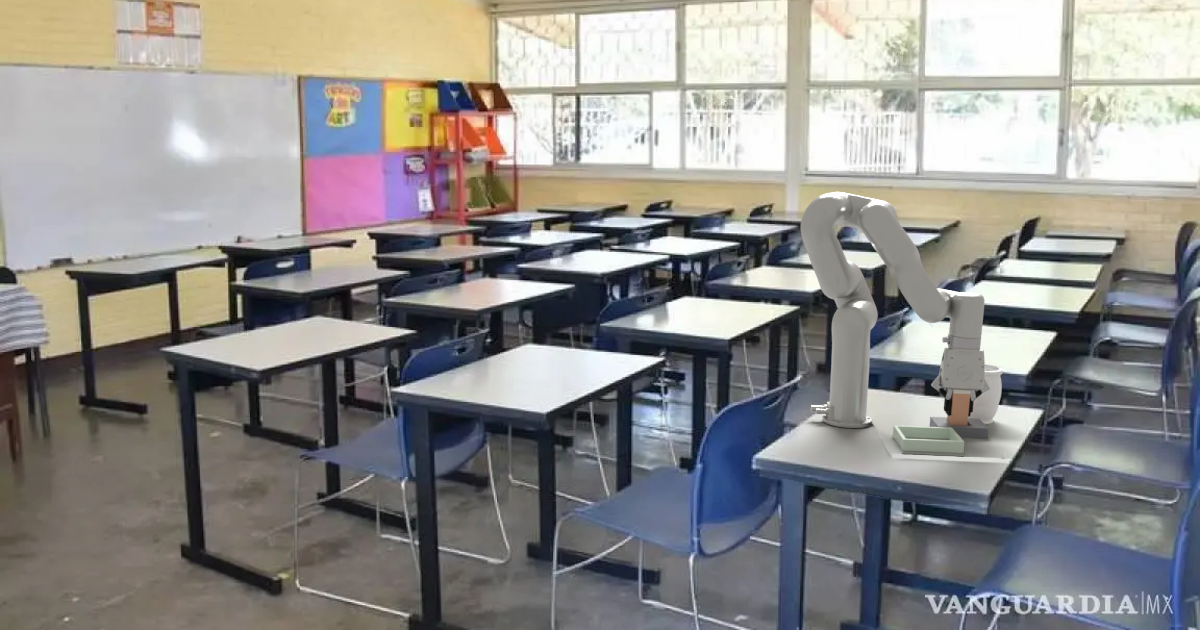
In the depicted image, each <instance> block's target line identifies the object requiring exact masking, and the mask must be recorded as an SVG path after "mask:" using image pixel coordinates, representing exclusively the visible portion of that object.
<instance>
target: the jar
mask: <svg viewBox="0 0 1200 630" xmlns="http://www.w3.org/2000/svg"><path fill="white" fill-rule="evenodd" d="M1003 373H1004V369H1003V368H1002V367H999V366H997V365H991V364H985V380H986V382H987V384H988V386H989V387H990V389H989V390H988V391H986V392H984V393H982V394H981V395H980V396H979V397H977V398H976V400H975V401H974V404H973V412H972V413H971V415H970V417H968V418H975V419H980V420H981V421H982V422H983V423H984V424H985V425H988V424H992V423H994V422H995V421H994V417H995V416H996V414H997V412H998V410H999V403H1000V401H1001V398H1002V389H1003V388H1002V387H1003V385H1002V378H1001V375H1003Z"/></svg>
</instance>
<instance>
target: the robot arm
mask: <svg viewBox="0 0 1200 630" xmlns="http://www.w3.org/2000/svg"><path fill="white" fill-rule="evenodd" d="M897 217H898V216H897V211H896V209H895V207H894V206H893V205H892V204H891V203H890V202H887V200H883V199H876V198H872V197H871V198H870V197H866V196H861V195H858V194H852V193H847V192H841V191H831V192H826V193H823V194H821V195H818V196H817V197H816V198H814V199H813V200H812V201H811V202H810V203H809V204H808V206H807V207H806V208H805V210H804V213H803V214H802V217H801V220H800V236H801V239H802V242H803V245H804V247H805V251H806V253H807V256H808V258H809V261H810V264H811V267H812V269H813V271H814V274H815V276H816V279H817V282H818V285H819V288H820V290H821V292H822V293H823V294H824V296H826V297H827V298H829V299H831V300H834V302H835V304H836V305H835V306H836V308H837V309H836V311H835V312H834V313H833V316H832V321H831V343H832V344H831V365H830V367H831V368H830V383H829V384H830V386H829V387H830V388H829V400H828V401H826V404H822V405H817V404H810V412H811V413H814V414H815V413H816V415H821V416H822V419H821V420H822V422H824V423H825V424H827V425H830V426H834V427H839V428H846V429H861V428H862V429H863V428H866V427H870V426H871V425H872V424H873V419H872V417H870V416H869V415H867V412H868V411H867V408H868V407H867V406H868V396H869V395H868V394H869V392H868V391H869V376H870V361H871V360H870V358H871V330H872V329H873V328H875V325H876V323H877V321H878V316H879V315H878V309H877V306H876V304H875V301H874V299H873V296H872V293H871V290H870V288H869V286H868V283H867V281H866V279H865V277H864V274H863V273H862V270H861V269H860V268H859V266H858V265H857V264H856V263H855V262H854V261H851V260H849V259H847V257H846V255H845V253H844V251H843V250H844V249H843V247H842V245H841V243H840V241H839V239H838V237H837V235H836V232H835V228H836V226H837V225H840V226H843V227H849V228H853V229H857V230H861V232H862V233H863V234H864V236H865V237H866V239H867V240H868V242H869V243H870V244H871V246H872V247H873V249H874V250H875V251H876V252H877V254H878V255H879V258H881V260H882V261H883V263H884V264H885V266H886V268H887V270H888V272H889V274H890V276H891V277H892V278H893V281H894V282H895V284H896V285H897V287H898V289H899V290H900V293H901V294H902V295H903V297H904V299H905V300H906V302H907V303H908V304H909V305H910V307H911V309H913V312H915V314H916V315H917V317H919V319H921V320H922V321H923V322H926V323H929V324H935V323H939V322H942V320H944V319H945V318H949V329H948V330H949V331H948V333H947V334H948V335H947V336H943V337H942V343H945V344H947V345H946V346H945V347H944V350H943V352H942V356H941V362H940V366H939V367H940V368H939V373H938V375H937V377H936V378H934V380H933V381H932V383H931V384H930V385H931V386H930V387H932V388H934V389H935V390H936V391H937V392H938V393H940V394H941V395H942V397H944V399H943V400H944V401H943V411H944V412H945V414H946V415H948V416H950V415H951V410H952V400H951V395H952V392H953V389H965V390H971V392H970V402H969V413H968V417H970V415H971V413H972V412H973V404H974V401H975V400H976V398H977V397H979V396H980V395H981V394H982V393H984V392H986V391H988V390H989V389H990V387H989V386H988V384H987V382H986V380H985V363H986V361H985V351H984V349H982V347H981V345H982V335H983V334H982V332H983V323H984V321H983V320H984V312H985V298H984V296H983V294H980V293H979V292H978V293H977V292H970V291H960V292H959V291H955V290H948V289H944V288H939V287H938V288H937V287H936V286H935V284H934V282H932V279H931V278H930V277H929V275H928V273H927V272H926V269H925V268H924V265H923V264H922V263H923V262H922V260H921V255H920V252H919V249H918V247H917V246H916V244H915V243H914V242H913V239H911V237H910V235H908V233H907V231H906V230H905V229H904V228H903V226H902V225H901V223H900V222H899V219H897Z"/></svg>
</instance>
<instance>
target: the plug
mask: <svg viewBox="0 0 1200 630" xmlns="http://www.w3.org/2000/svg"><path fill="white" fill-rule="evenodd" d="M970 392H971V390H965V389H953V392H952V395H951V400H952V410H951V415H950V416H948V415H947V414H946V415H947V416H946V417H947V421H948V422H949V423H950V424H951V425H967V423H968V413H969V402H970Z"/></svg>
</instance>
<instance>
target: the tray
mask: <svg viewBox="0 0 1200 630" xmlns="http://www.w3.org/2000/svg"><path fill="white" fill-rule="evenodd" d="M892 436H893V439H894V440H895V441H896V443H897V444H898V446H899V447H900V449H901V451H910V452H911V451H912V452H933V453H937V452H938V453H954V454H956V453H957V454H958V453H960V454H964V452H965V441H964V439H963V438H962V437H960V436H959V435H958V434H957V433H956V432H955V431H954V429H953V428H947V427H930V426H918V425H917V426H916V425H893V427H892ZM901 454H902V455H906V452H905V453H904V452H903V453H901ZM909 455H914V456H930V454H926V453H924V454H922V453H908V456H909ZM932 456H934V457H935V456H938V457H954V455H951V454H950V455H949V454H946V455H945V454H932ZM956 457H959V458H960V457H962V458H963V457H964V455H956Z"/></svg>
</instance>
